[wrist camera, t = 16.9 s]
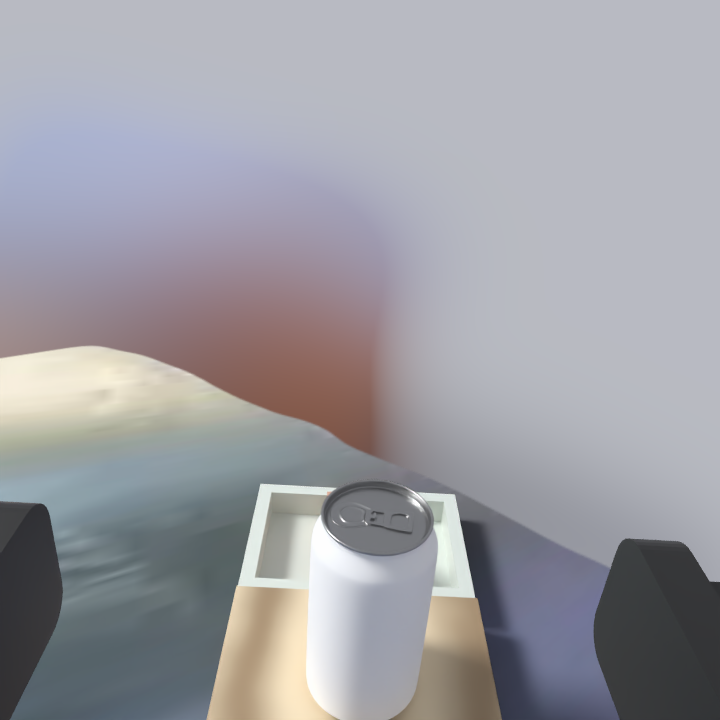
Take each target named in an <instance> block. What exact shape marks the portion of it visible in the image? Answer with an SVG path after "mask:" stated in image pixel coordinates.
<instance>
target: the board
mask: <svg viewBox="0 0 720 720" xmlns="http://www.w3.org/2000/svg"><path fill="white" fill-rule="evenodd" d="M308 598H309V590H308V589H288V588H269V587H249V586H237V587H236V591H235V596H234V600H233V605H232V609H231V614H230V618H229V622H228V627H227V631H226V636H225V640H224V645H223V649H222V654H221V658H220V663H219V667H218V672H217V676H216V680H215V685H214V689H213V694H212V698H211V703H210V707H209V712H208V716H207V720H340V719H337V718H335V717H334V716H332V715H330V714H329V713H327V712H326V711H325V710H324V709H322V708H321V707H320V706H319V705H318V703H317V702H316V701H315V699H314V698H313V696H312V695H311V693H310V690H309V688H308V684H307V678H306V650H307V623H308ZM389 720H502V717H501V712H500V707H499V703H498V698H497V693H496V688H495V683H494V678H493V673H492V668H491V663H490V658H489V653H488V648H487V643H486V638H485V633H484V628H483V623H482V618H481V613H480V608H479V604H478V599H477V598H465V597H445V596H431V602H430V609H429V615H428V621H427V628H426V634H425V640H424V646H423V653H422V659H421V665H420V671H419V676H418V682H417V686H416V690H415V693H414V696H413V698H412V699H411V701H410V703H409V704H408V705H407V706H406V708H405V709H404V710H403V711H401V712H400V713H399V714H398V715H396V716H394V717H393V718H391V719H389Z"/></svg>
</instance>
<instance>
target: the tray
mask: <svg viewBox="0 0 720 720" xmlns="http://www.w3.org/2000/svg"><path fill="white" fill-rule="evenodd" d="M335 489H336V488H325V487H307V486H289V485H271V484H261V485H260V489H259V494H258V498H257V503H256V507H255V512H254V516H253V521H252V525H251V530H250V534H249V539H248V543H247V548H246V552H245V557H244V561H243V566H242V570H241V575H240V580H239V584H238V586H249V587H269V588H288V589H308V590H309V574H310V553H311V539H312V532H313V528H314V525H315V523H316V521H317V519H318V518H319V516H320V515H321V508H322V505H323V502H324V500H325V499H326V497H327V492H332V491H333V490H335ZM418 494H419V495H420V496H421V497H422V498H424V500H425V501H426V502H427V503H428V505H429V506H430V508H431V510H432V513H433V517H434V526H433V527H434V530H435V533H436V536H437V540H438V555H437V563H436V570H435V576H434V583H433V589H432V596H445V597H465V598H475V594H474V589H473V584H472V579H471V574H470V569H469V564H468V559H467V554H466V549H465V544H464V539H463V534H462V529H461V524H460V519H459V514H458V509H457V504H456V499H455V495H452V494H434V493H418Z"/></svg>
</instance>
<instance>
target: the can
mask: <svg viewBox="0 0 720 720" xmlns="http://www.w3.org/2000/svg"><path fill="white" fill-rule="evenodd" d="M433 526H434V517H433V513H432V510H431V508H430V506H429V505H428V503H427V502H426V501H425V500H424V498H422V497H421V496H420V495H419V494H418V493H416V492H415V491H413V490H412V489H410V488H408V487H406V486H404V485H401V484H398V483H395V482H391V481H386V480H378V479H365V480H358V481H353V482H349V483H346V484H344V485H342V486H340V487H338V488H336V489H335V490H333V491H332V492H331V493H330V494H329V495H328V496H327V497H326V499H325V500H324V502H323V505H322V508H321V515H320V516H319V518H318V519H317V521H316V523H315V525H314V528H313V532H312V539H311V553H310V574H309V598H308V623H307V650H306V678H307V684H308V688H309V690H310V693H311V695H312V696H313V698H314V699H315V701H316V702H317V703H318V705H319V706H320V707H321V708H322V709H324V710H325V711H326V712H327V713H329V714H330V715H332V716H334V717H335V718H337V719H340V720H389V719H391V718H393V717H394V716H396V715H398V714H399V713H400V712H401V711H403V710H404V709H405V708H406V706H407V705H408V704H409V703H410V701H411V699H412V698H413V696H414V693H415V690H416V686H417V682H418V676H419V671H420V665H421V659H422V653H423V646H424V640H425V634H426V628H427V621H428V615H429V609H430V602H431V596H432V589H433V583H434V576H435V570H436V563H437V555H438V540H437V536H436V533H435V530H434V527H433Z"/></svg>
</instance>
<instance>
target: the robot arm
mask: <svg viewBox="0 0 720 720" xmlns="http://www.w3.org/2000/svg"><path fill="white" fill-rule="evenodd" d="M62 593H63V588H62V579H61V574H60V569H59V563H58V558H57V553H56V547H55V542H54V536H53V531H52V526H51V520H50V516H49V512H48V510H47V508H46V506H45V505H43V504H39V503H21V502H3V501H0V720H10V718H11V716H12V714H13V712H14V710H15V708H16V706H17V704H18V702H19V700H20V698H21V696H22V694H23V692H24V690H25V688H26V686H27V684H28V682H29V680H30V678H31V676H32V674H33V672H34V670H35V668H36V666H37V664H38V662H39V660H40V658H41V656H42V654H43V652H44V650H45V648H46V646H47V644H48V642H49V640H50V638H51V636H52V634H53V631H54V629H55V627H56V624H57V621H58V618H59V614H60V610H61V604H62ZM594 643H595V650H596V654H597V658H598V661H599V664H600V667H601V670H602V672H603V675H604V678H605V680H606V683H607V686H608V688H609V691H610V694H611V697H612V699H613V702H614V705H615V707H616V710H617V713H618V715H619V718H620V720H720V582H710V581H709V580H708V578H707V577H706V575H705V573H704V572H703V570H702V569H701V567H700V565H699V564H698V562H697V560H696V559H695V557H694V556H693V554H692V552H691V551H690V550H689V548H688V547H687V546H686V545H684V544H683V543H681V542H678V541H661V540H644V539H625V540H623V541H622V542H621V543H620V545H619V547H618V549H617V551H616V554H615V557H614V560H613V563H612V566H611V569H610V572H609V575H608V578H607V581H606V584H605V587H604V590H603V593H602V596H601V599H600V602H599V605H598V608H597V610H596V614H595V619H594Z"/></svg>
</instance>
